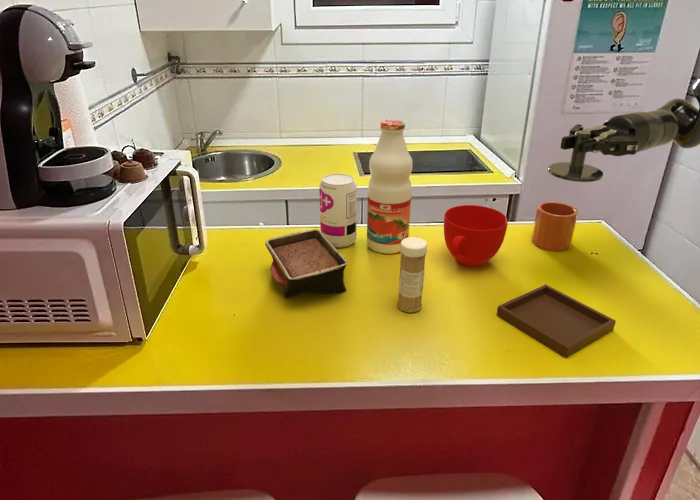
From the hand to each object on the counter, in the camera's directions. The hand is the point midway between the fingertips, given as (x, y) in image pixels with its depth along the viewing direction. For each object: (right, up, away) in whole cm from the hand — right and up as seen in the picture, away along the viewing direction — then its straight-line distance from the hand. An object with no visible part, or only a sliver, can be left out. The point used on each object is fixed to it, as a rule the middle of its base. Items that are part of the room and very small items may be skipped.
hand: (570, 145), depth 91 cm
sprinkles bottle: (-28, -29, +5) cm, 40 cm away
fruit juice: (-30, -17, +27) cm, 44 cm away
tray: (-3, -31, 0) cm, 31 cm away
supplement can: (-41, -16, +28) cm, 53 cm away
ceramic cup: (-14, -21, +19) cm, 32 cm away
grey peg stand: (+3, -4, +4) cm, 6 cm away
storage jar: (+7, -17, +28) cm, 34 cm away
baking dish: (-47, -25, +12) cm, 55 cm away
